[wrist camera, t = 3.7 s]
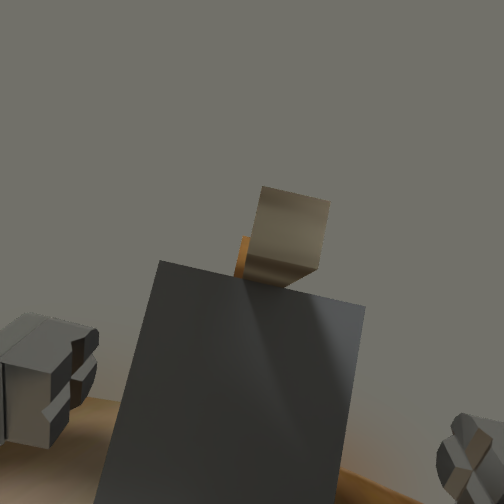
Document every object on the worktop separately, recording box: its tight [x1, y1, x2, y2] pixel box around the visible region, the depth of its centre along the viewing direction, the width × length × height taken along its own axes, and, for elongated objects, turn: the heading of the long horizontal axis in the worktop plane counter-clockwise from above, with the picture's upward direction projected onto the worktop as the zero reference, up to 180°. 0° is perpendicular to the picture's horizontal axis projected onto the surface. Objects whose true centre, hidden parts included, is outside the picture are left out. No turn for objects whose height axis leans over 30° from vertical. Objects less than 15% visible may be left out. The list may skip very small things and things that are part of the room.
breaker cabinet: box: [94, 260, 365, 504], centre depth 27 cm, size 13×14×26 cm
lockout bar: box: [234, 186, 330, 288], centre depth 25 cm, size 22×4×4 cm, turn 3°
